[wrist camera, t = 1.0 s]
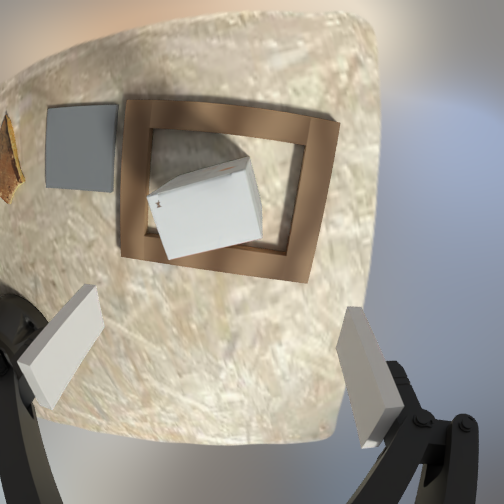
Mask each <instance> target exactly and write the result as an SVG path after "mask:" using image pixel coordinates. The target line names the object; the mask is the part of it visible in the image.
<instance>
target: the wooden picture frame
mask: <svg viewBox="0 0 504 504" xmlns="http://www.w3.org/2000/svg"><path fill="white" fill-rule="evenodd" d="M153 128H160V129H177V130H190V131H202V132H213V133H222V134H231V135H240V136H248V137H255V138H262V139H269V140H276V141H282V142H288V143H294V144H300V145H305V148H304V154H303V160H302V165H301V171H300V177H299V183H298V188H297V194H296V200H295V205H294V211H293V216H292V221H291V227H290V232H289V237H288V243H287V248H286V252H284V251H277V250H270V249H262V248H255V247H248V246H241V245H232V246H228V247H224V248H220V249H215V250H211V251H206V252H202V253H198V254H194V255H189V256H185V257H181V258H177V259H172V260H168V257H167V254H166V252H165V249H164V247H163V244H162V241H161V238H160V235H159V234H154V233H148V200H147V195H149V178H150V162H151V149H152V138H153ZM339 128H340V123H339V122H334V121H330V120H325V119H320V118H315V117H310V116H305V115H299V114H293V113H288V112H281V111H275V110H268V109H261V108H254V107H246V106H237V105H228V104H217V103H205V102H191V101H171V100H127V101H126V110H125V120H124V132H123V145H122V162H121V189H120V237H121V257H126V258H132V259H139V260H145V261H151V262H158V263H164V264H171V265H177V266H184V267H191V268H198V269H204V270H211V271H218V272H225V273H232V274H239V275H247V276H254V277H261V278H269V279H276V280H284V281H292V282H299V283H308V279H309V275H310V271H311V267H312V262H313V258H314V254H315V249H316V245H317V241H318V236H319V232H320V227H321V222H322V218H323V213H324V208H325V203H326V198H327V193H328V188H329V183H330V178H331V173H332V168H333V162H334V157H335V151H336V146H337V140H338V134H339Z"/></svg>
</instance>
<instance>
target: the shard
mask: <svg viewBox="0 0 504 504" xmlns="http://www.w3.org/2000/svg"><path fill="white" fill-rule="evenodd" d="M24 182H25V178H24V176H23V174H22V171H21V169H20V165H19V160H18V154H17V148H16V143H15V137H14V131H13V127H12V124H11V120H10V118H8V117H7V115H5V119H4V122H3V124H2V127H1V131H0V197H1V198H2V199H3V200H4V201H5V202H6V203H7V204H11V203H12V198H13V195H14V192H15V191H16V189H17V188H18V187H19V186H20V185H22V184H23V183H24Z"/></svg>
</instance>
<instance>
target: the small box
mask: <svg viewBox="0 0 504 504" xmlns="http://www.w3.org/2000/svg"><path fill="white" fill-rule="evenodd" d="M147 200H148V203H149V206H150V209H151V212H152V215H153V218H154V221H155V224H156V227H157V230H158V232H159V235H160V238H161V241H162V244H163V247H164V249H165V252H166V254H167V257H168V260H172V259H177V258H181V257H185V256H189V255H194V254H198V253H202V252H206V251H211V250H215V249H220V248H224V247H228V246H232V245H237V244H241V243H246V242H250V241H254V240H259V239H262V236H263V234H262V203H261V198H260V194H259V190H258V186H257V182H256V178H255V174H254V170H253V167H252V163H251V159H250V157H249V156H248V157H244V158H240V159H237V160H233V161H229V162H225V163H221V164H218V165H214V166H210V167H207V168H203V169H200V170H196V171H193V172H189V173H186V174H182V175H179V176H177V177H176V178H174V179H172V180H171V181H169V182H167V183H166V184H164V185H163V186H161V187H160V188H158V189H157V190H155V191H154V192H152V193H151V194H149V195H147Z"/></svg>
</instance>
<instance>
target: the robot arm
mask: <svg viewBox="0 0 504 504" xmlns="http://www.w3.org/2000/svg"><path fill="white" fill-rule="evenodd" d="M104 327H105V326H104V321H103V317H102V312H101V307H100V303H99V298H98V292H97V287H96V285H90V284H84V285H83V286H82V287H81V288H80V289H79V290H78V291H77V292H76V293H75V295H74V296H73V297H72V298H71V299H70V300H69V301H68V302H67V303H66V304H65V305H64V306H63V308H62V309H61V310H60V311H59V312H58V313H57V314H56V315H55V317H54V318H53V319H52V320H51V321H50V322H49V323H48V322H47V321H46V319H45V318H44V317H43V316H42V314H41V313H40V312H39V311H38V310H37V309H36V308H35V307H34V306H33V305H31V304H30V303H29V302H28V301H26V300H25V299H23V298H21V297H19V296H16V295H13V294H6V295H4V296H2V297H1V298H0V478H1V482H2V487H3V491H4V495H5V499H6V503H7V504H63V502H62V499H61V497H60V494H59V491H58V489H57V486H56V483H55V480H54V477H53V475H52V472H51V469H50V466H49V462H48V459H47V456H46V452H45V449H44V445H43V442H42V438H41V434H40V430H39V426H38V421H37V417H36V412H35V407H34V405H33V403H32V401H33V399H34V398H36V399H37V401H38V403H39V405H40V406H43V407H45V408H48V409H51V410H53V408H54V407H55V405H56V403H57V402H58V400H59V398H60V396H61V395H62V393H63V391H64V390H65V388H66V386H67V385H68V383H69V381H70V380H71V378H72V377H73V375H74V373H75V372H76V370H77V369H78V367H79V365H80V364H81V362H82V361H83V359H84V357H85V356H86V354H87V353H88V351H89V350H90V348H91V347H92V345H93V344H94V342H95V341H96V339H97V338H98V336H99V335H100V333H101V332H102V330H103V329H104ZM336 350H337V353H338V357H339V361H340V364H341V368H342V372H343V376H344V379H345V383H346V387H347V391H348V395H349V398H350V403H351V407H352V411H353V415H354V419H355V423H356V427H357V431H358V436H359V440H360V444H361V448H371V447H378V446H379V445H380V444H381V442H382V441H383V439H384V442H385V445H386V447H385V448H384V450H383V451H382V453H381V454H380V455H379V457H378V458H377V461H376V463H375V464H374V465H373V467H372V468H371V470H370V471H369V473H368V474H367V476H366V478H365V479H364V480H363V482H362V483H361V484H360V486H359V487H358V489H357V490H356V492H355V493H354V494H353V495H352V497H351V498H350V499H349V501H348V502H347V503H346V504H398V502H399V500H400V499H401V497H402V495H403V494H404V492H405V490H406V488H407V486H408V484H409V482H410V481H411V479H412V477H413V475H414V473H415V471H416V469H417V467H418V465H419V464H423V467H422V472H421V478H420V482H419V487H418V491H417V496H416V500H415V504H475V501H476V490H477V478H478V454H479V434H478V433H479V431H478V424H477V422H476V420H475V419H474V418H473V417H472V416H470V415H467V414H459V415H457V416H456V417H455V418H454V419H453V420H452V421H444V420H437V419H435V418H434V416H433V415H432V414H431V413H430V412H428V411H427V410H424V409H422V408H421V406H420V403H419V401H418V399H417V397H416V394H415V392H414V390H413V388H412V386H411V385H410V381H409V379H408V378H407V375H406V373H405V370H404V368H403V367H402V366H401V365H400V364H399V363H398V362H397V361H385V358H384V356H383V354H382V351H381V349H380V347H379V345H378V342H377V340H376V338H375V336H374V333H373V331H372V329H371V327H370V325H369V323H368V320H367V318H366V316H365V314H364V312H363V310H362V308H361V307H348V306H347V309H346V313H345V317H344V321H343V325H342V329H341V332H340V336H339V339H338V343H337V346H336Z"/></svg>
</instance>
